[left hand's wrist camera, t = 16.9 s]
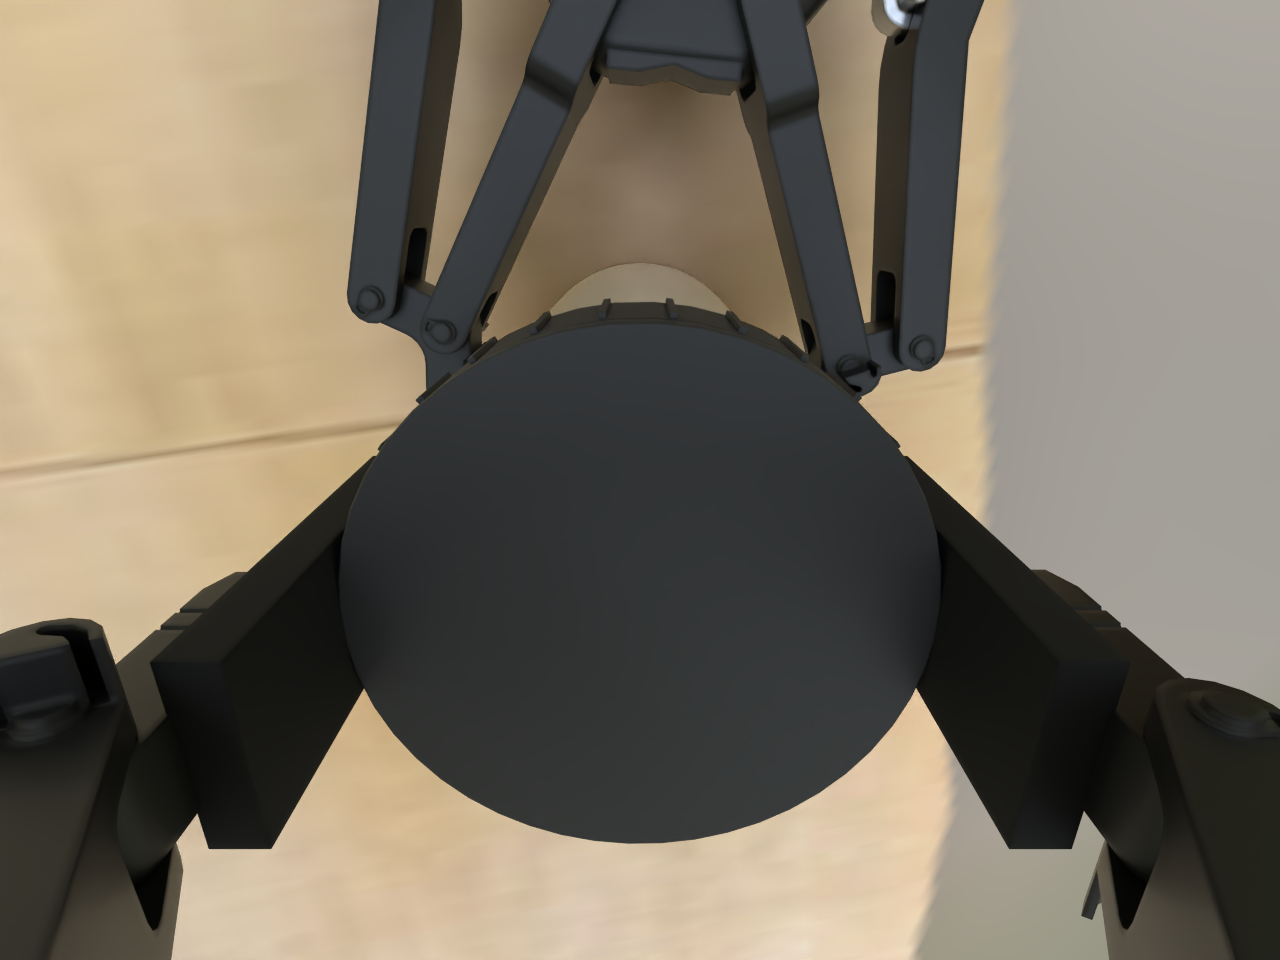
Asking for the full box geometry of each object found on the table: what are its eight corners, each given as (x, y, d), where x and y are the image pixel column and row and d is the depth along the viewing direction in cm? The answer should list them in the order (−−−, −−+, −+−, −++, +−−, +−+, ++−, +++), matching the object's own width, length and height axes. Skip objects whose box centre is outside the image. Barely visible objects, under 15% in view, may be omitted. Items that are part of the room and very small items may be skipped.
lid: (914, 714, 13) (961, 800, 11) (472, 789, 14) (445, 882, 12) (872, 237, 10) (928, 243, 8) (300, 366, 11) (226, 400, 9)
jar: (554, 483, 28) (451, 813, 13) (514, 279, 25) (318, 388, 10) (753, 458, 27) (894, 768, 12) (736, 248, 24) (895, 310, 9)
